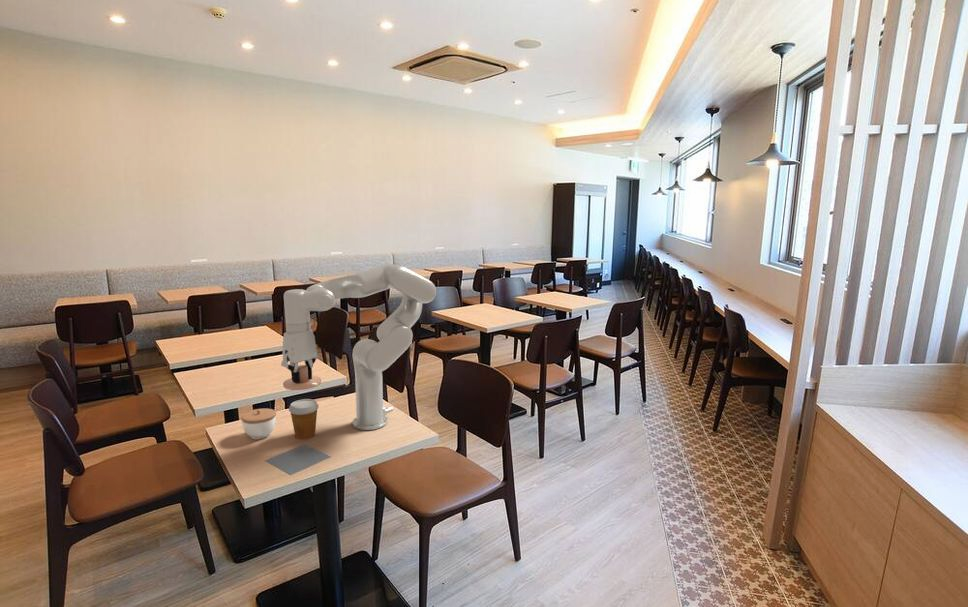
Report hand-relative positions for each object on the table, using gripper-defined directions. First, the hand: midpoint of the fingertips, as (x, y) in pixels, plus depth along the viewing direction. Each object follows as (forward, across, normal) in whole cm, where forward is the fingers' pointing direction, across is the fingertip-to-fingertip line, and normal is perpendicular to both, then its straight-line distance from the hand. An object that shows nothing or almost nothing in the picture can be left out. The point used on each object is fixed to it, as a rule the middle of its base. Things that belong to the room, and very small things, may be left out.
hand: (302, 380), depth 163 cm
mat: (+21, +11, +11) cm, 26 cm away
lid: (+1, 0, 0) cm, 1 cm away
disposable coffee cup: (+21, -1, -2) cm, 21 cm away
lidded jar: (+21, +8, -15) cm, 27 cm away
